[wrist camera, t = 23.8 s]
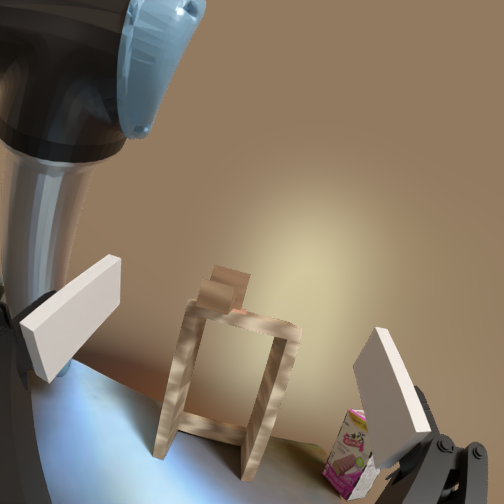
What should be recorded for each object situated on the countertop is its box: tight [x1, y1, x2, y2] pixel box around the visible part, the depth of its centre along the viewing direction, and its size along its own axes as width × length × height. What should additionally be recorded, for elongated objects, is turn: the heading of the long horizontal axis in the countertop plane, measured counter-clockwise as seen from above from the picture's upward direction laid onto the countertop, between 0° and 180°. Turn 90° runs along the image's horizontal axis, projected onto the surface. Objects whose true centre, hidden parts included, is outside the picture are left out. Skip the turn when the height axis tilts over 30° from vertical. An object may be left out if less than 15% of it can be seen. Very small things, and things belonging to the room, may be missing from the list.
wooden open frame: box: [153, 299, 303, 482], centre depth 46 cm, size 18×14×30 cm
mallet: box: [196, 265, 250, 315], centre depth 41 cm, size 24×6×6 cm, turn 2°
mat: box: [231, 308, 247, 315], centre depth 49 cm, size 8×10×1 cm
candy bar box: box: [321, 409, 381, 501], centre depth 39 cm, size 11×5×16 cm, turn 15°
